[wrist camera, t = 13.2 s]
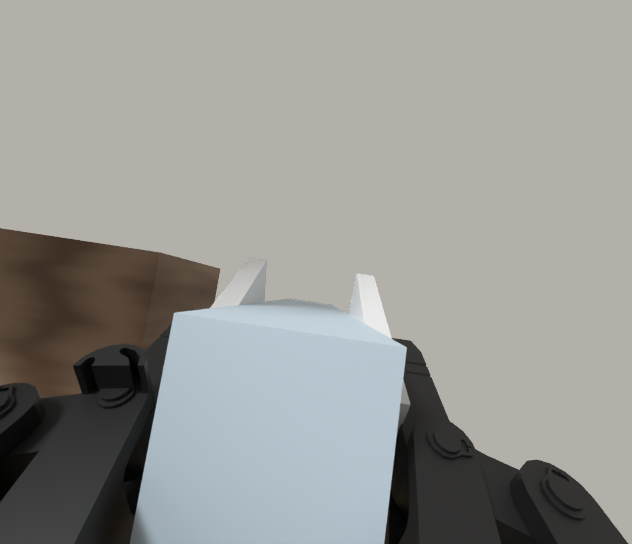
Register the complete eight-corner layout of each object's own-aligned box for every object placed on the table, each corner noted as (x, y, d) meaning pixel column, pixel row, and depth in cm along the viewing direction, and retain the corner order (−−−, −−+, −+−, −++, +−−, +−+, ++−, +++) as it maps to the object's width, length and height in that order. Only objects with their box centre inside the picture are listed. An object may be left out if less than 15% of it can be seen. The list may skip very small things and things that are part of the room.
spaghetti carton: (376, 605, 4) (407, 347, 5) (124, 566, 4) (174, 313, 5) (325, 345, 26) (330, 304, 26) (284, 339, 26) (290, 298, 27)
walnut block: (-157, 812, 13) (-7, 227, 16) (44, 592, 23) (117, 253, 26) (40, 847, 13) (160, 252, 16) (157, 610, 23) (220, 268, 26)
